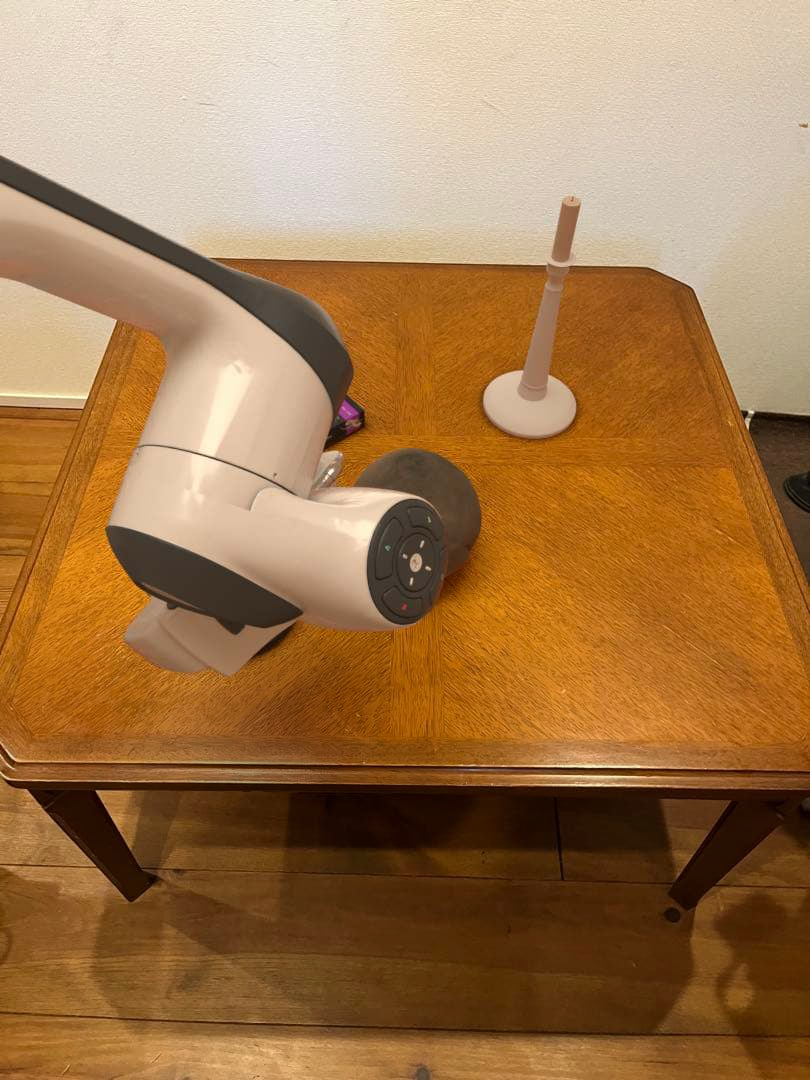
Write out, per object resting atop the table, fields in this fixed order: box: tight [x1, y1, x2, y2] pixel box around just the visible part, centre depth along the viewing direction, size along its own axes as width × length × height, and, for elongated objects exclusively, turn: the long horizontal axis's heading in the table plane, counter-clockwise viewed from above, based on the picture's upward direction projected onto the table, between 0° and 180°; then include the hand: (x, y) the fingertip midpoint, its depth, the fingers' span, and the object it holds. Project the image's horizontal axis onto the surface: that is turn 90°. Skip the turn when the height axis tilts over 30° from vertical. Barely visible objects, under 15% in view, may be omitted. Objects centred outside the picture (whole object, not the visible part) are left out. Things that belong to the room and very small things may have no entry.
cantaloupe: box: [353, 447, 483, 578], centre depth 81 cm, size 14×14×15 cm
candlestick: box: [482, 195, 582, 440], centre depth 90 cm, size 13×13×30 cm
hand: (194, 549), depth 63 cm, fingers open, 8 cm apart
